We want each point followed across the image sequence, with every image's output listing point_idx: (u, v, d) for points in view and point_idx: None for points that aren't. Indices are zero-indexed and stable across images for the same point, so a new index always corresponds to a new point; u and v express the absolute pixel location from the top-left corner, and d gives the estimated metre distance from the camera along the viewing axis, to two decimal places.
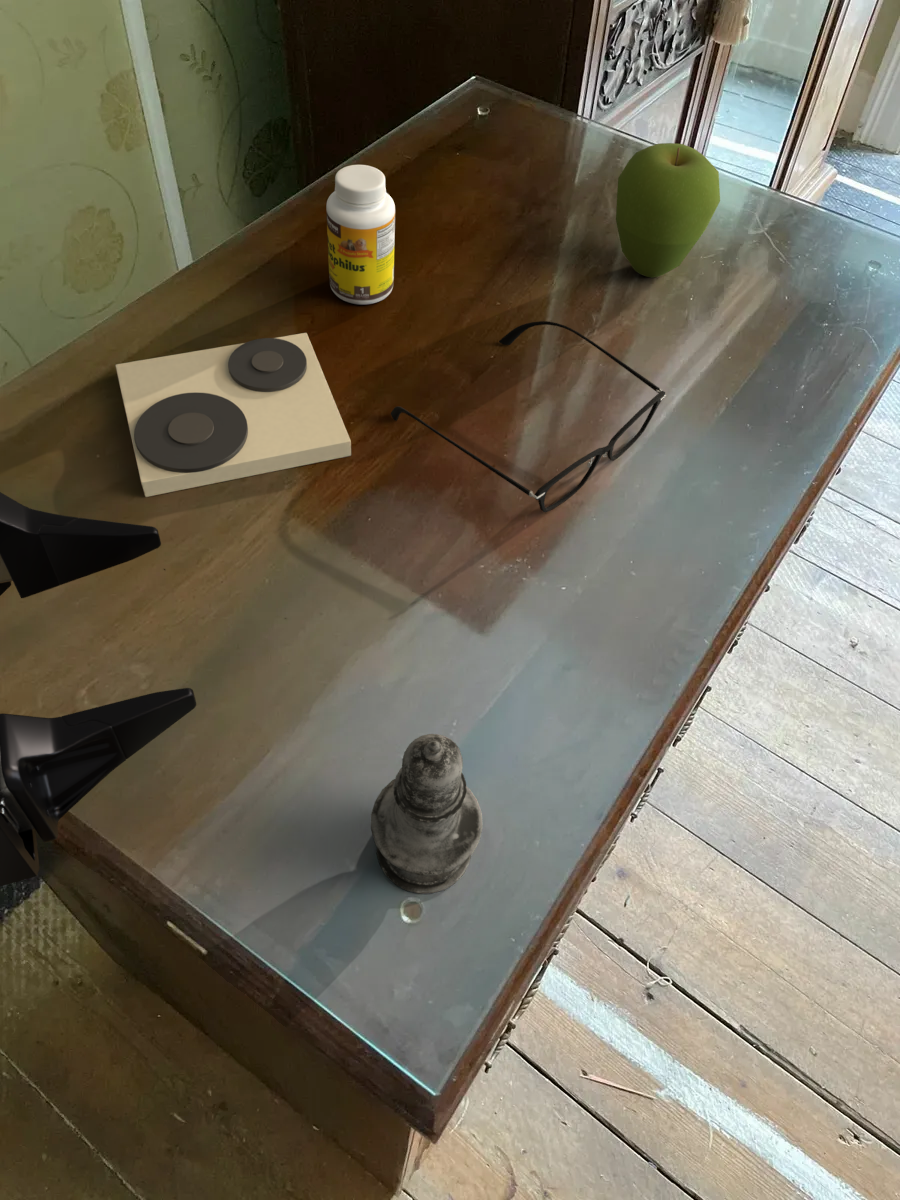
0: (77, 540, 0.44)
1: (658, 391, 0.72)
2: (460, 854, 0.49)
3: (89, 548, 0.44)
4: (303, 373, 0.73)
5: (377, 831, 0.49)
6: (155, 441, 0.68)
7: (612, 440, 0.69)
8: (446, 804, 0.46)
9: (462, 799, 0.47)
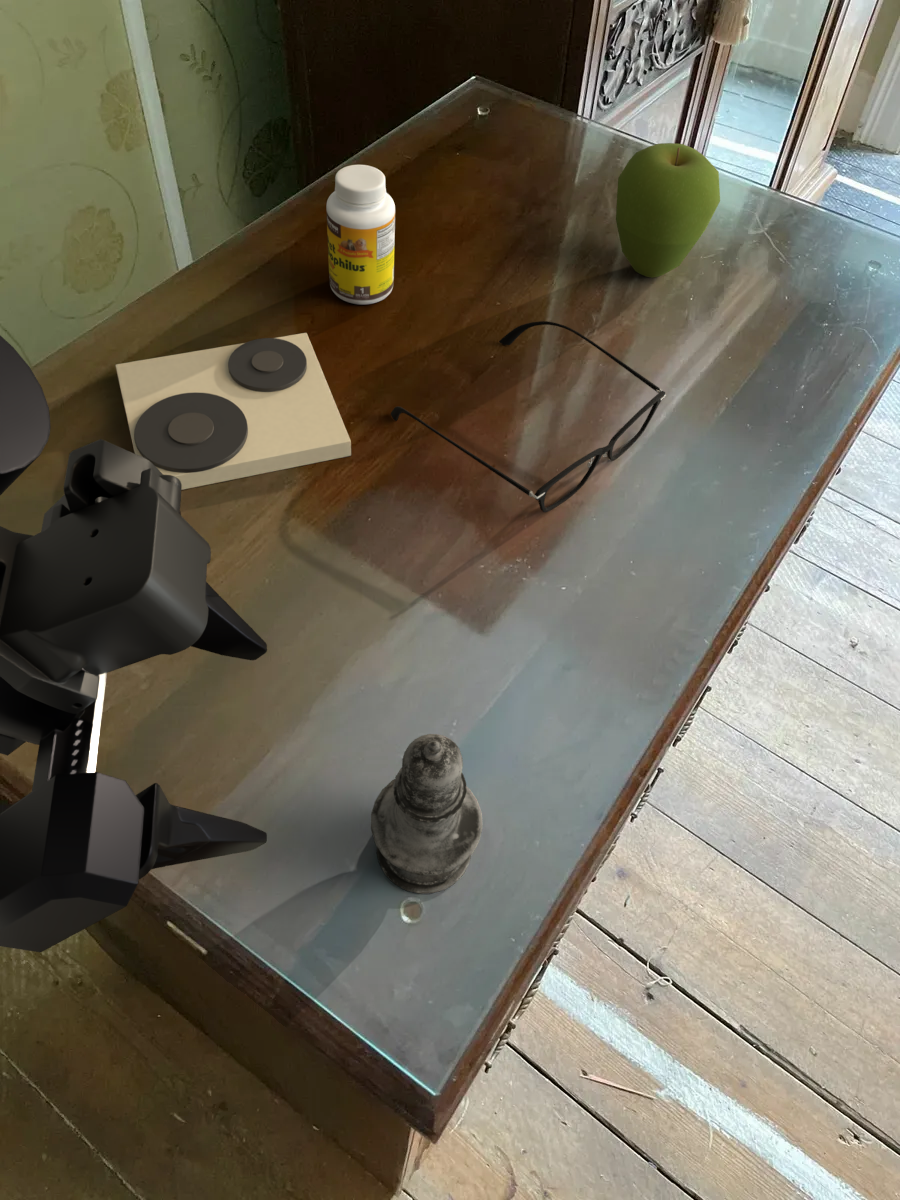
0: (208, 615, 0.41)
1: (658, 391, 0.72)
2: (460, 854, 0.49)
3: (206, 626, 0.42)
4: (303, 373, 0.73)
5: (377, 831, 0.49)
6: (155, 441, 0.68)
7: (612, 440, 0.69)
8: (446, 804, 0.46)
9: (462, 799, 0.47)
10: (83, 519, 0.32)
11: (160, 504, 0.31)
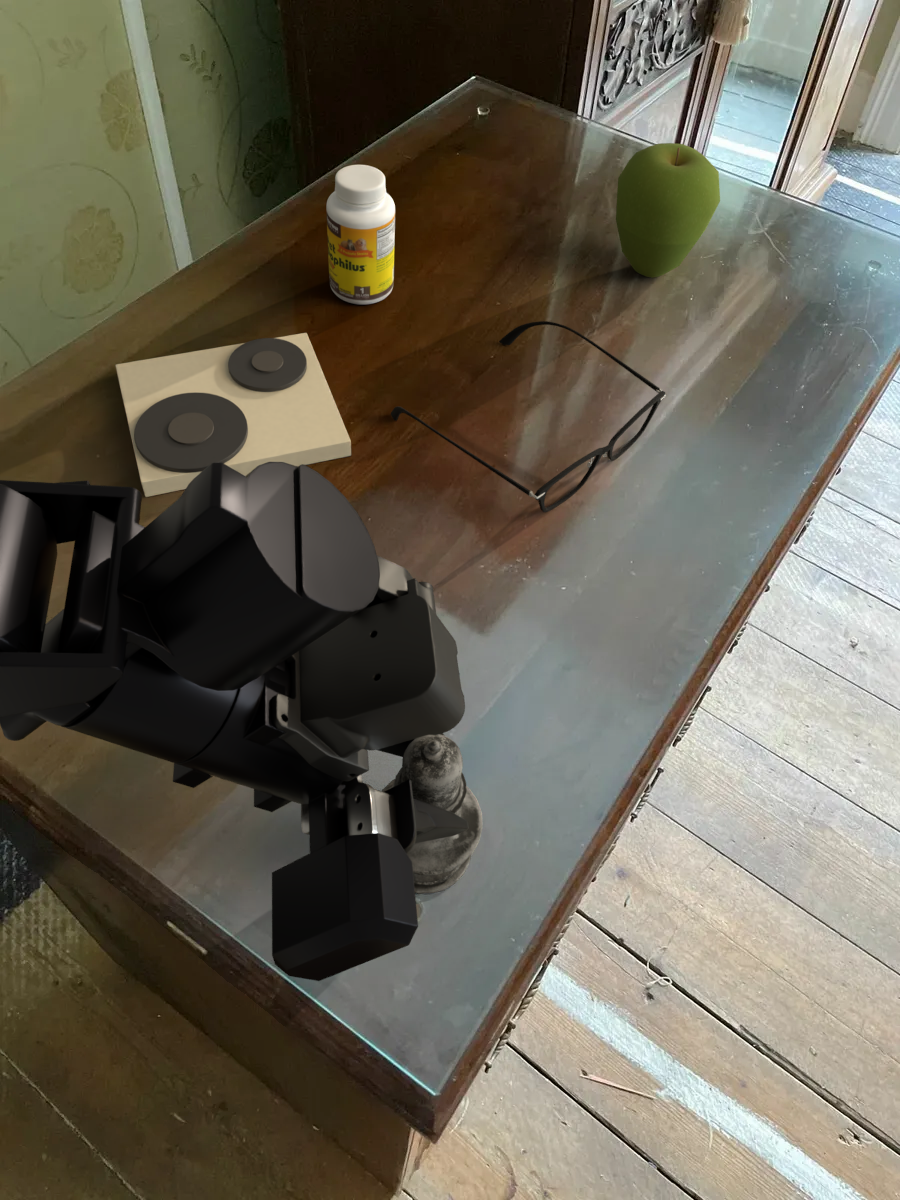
0: None
1: (658, 391, 0.72)
2: (460, 854, 0.49)
3: (412, 739, 0.47)
4: (303, 373, 0.73)
5: None
6: (155, 441, 0.68)
7: (612, 440, 0.69)
8: (446, 804, 0.46)
9: (462, 799, 0.47)
10: (359, 621, 0.38)
11: (430, 611, 0.37)
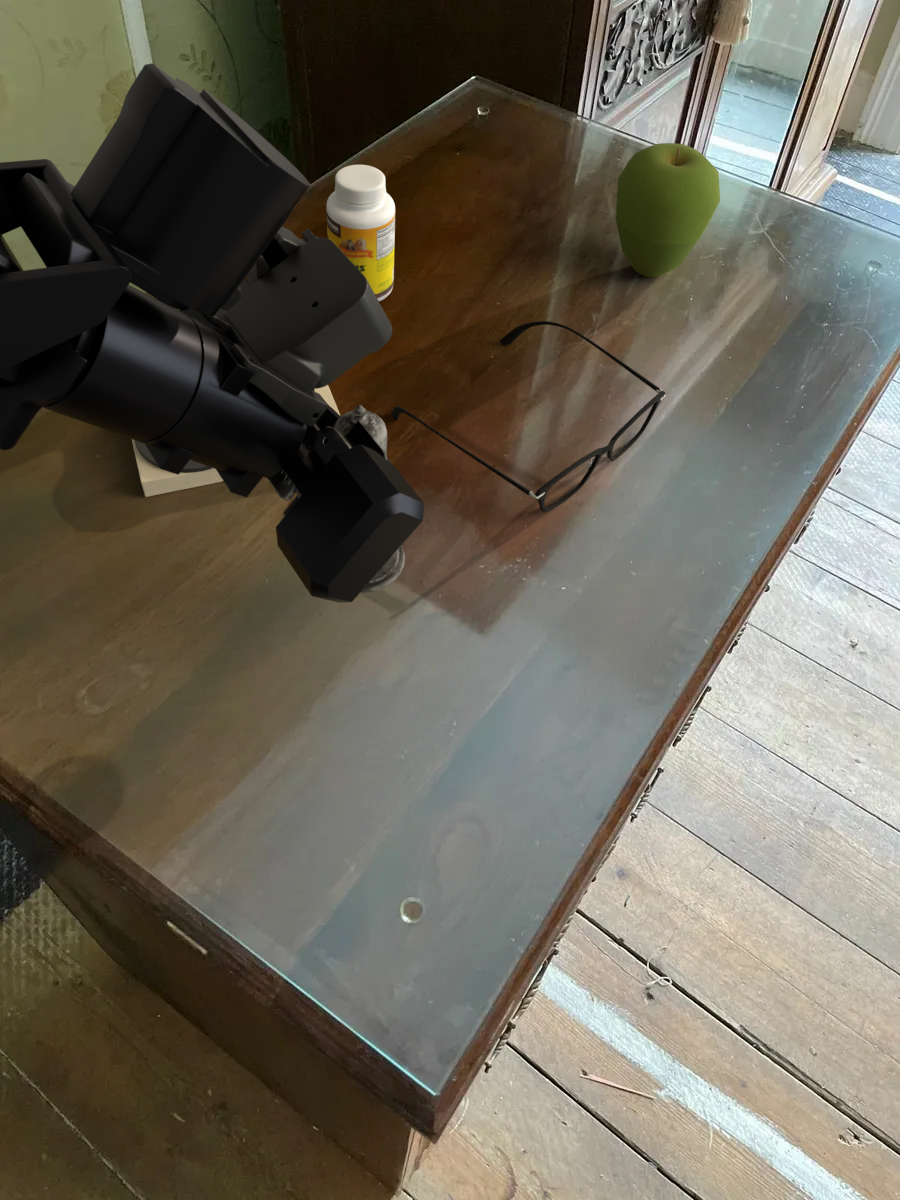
0: (331, 421, 0.51)
1: (658, 391, 0.72)
2: None
3: None
4: None
5: None
6: None
7: (612, 440, 0.69)
8: None
9: None
10: (274, 277, 0.42)
11: (334, 244, 0.42)
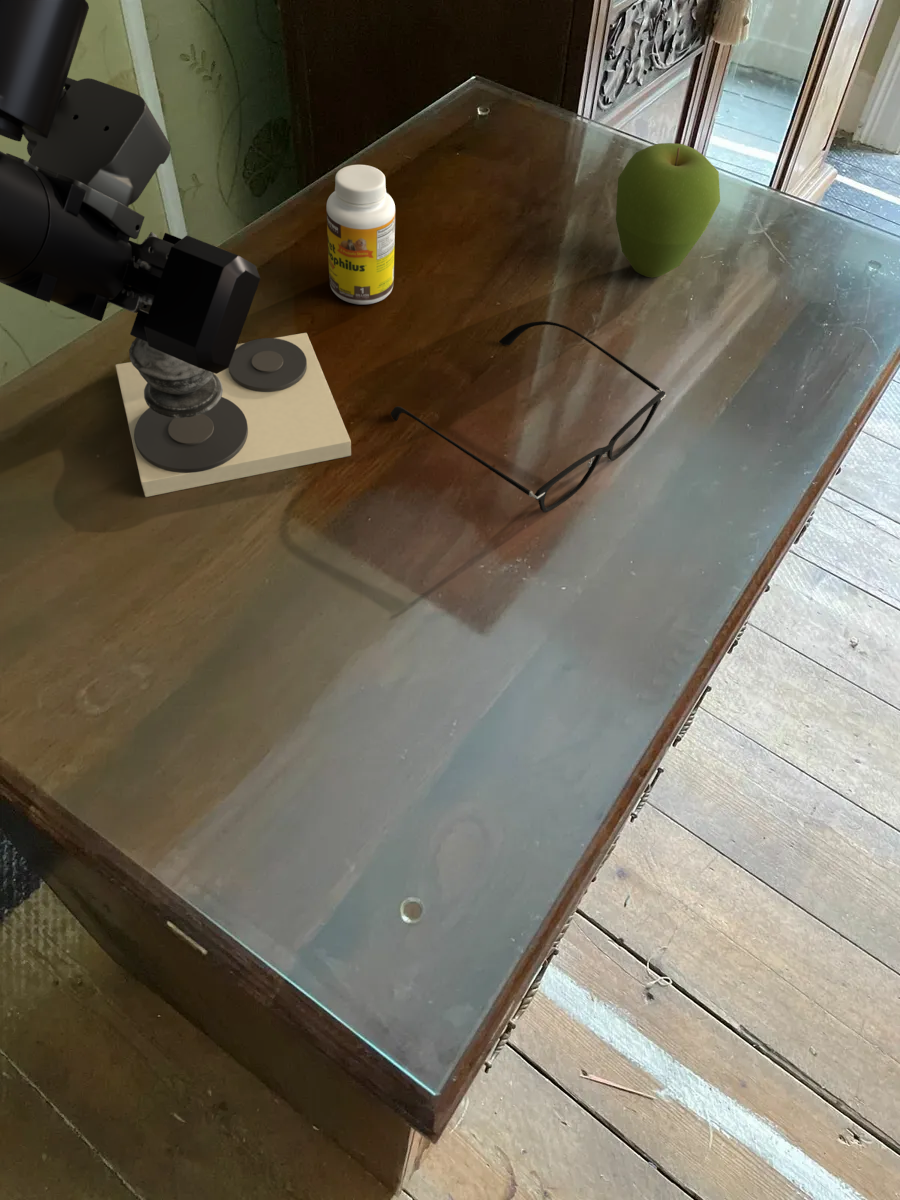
0: None
1: (658, 391, 0.72)
2: None
3: None
4: (303, 373, 0.73)
5: (154, 372, 0.61)
6: (155, 441, 0.68)
7: (612, 440, 0.69)
8: None
9: None
10: (56, 120, 0.49)
11: (96, 81, 0.49)
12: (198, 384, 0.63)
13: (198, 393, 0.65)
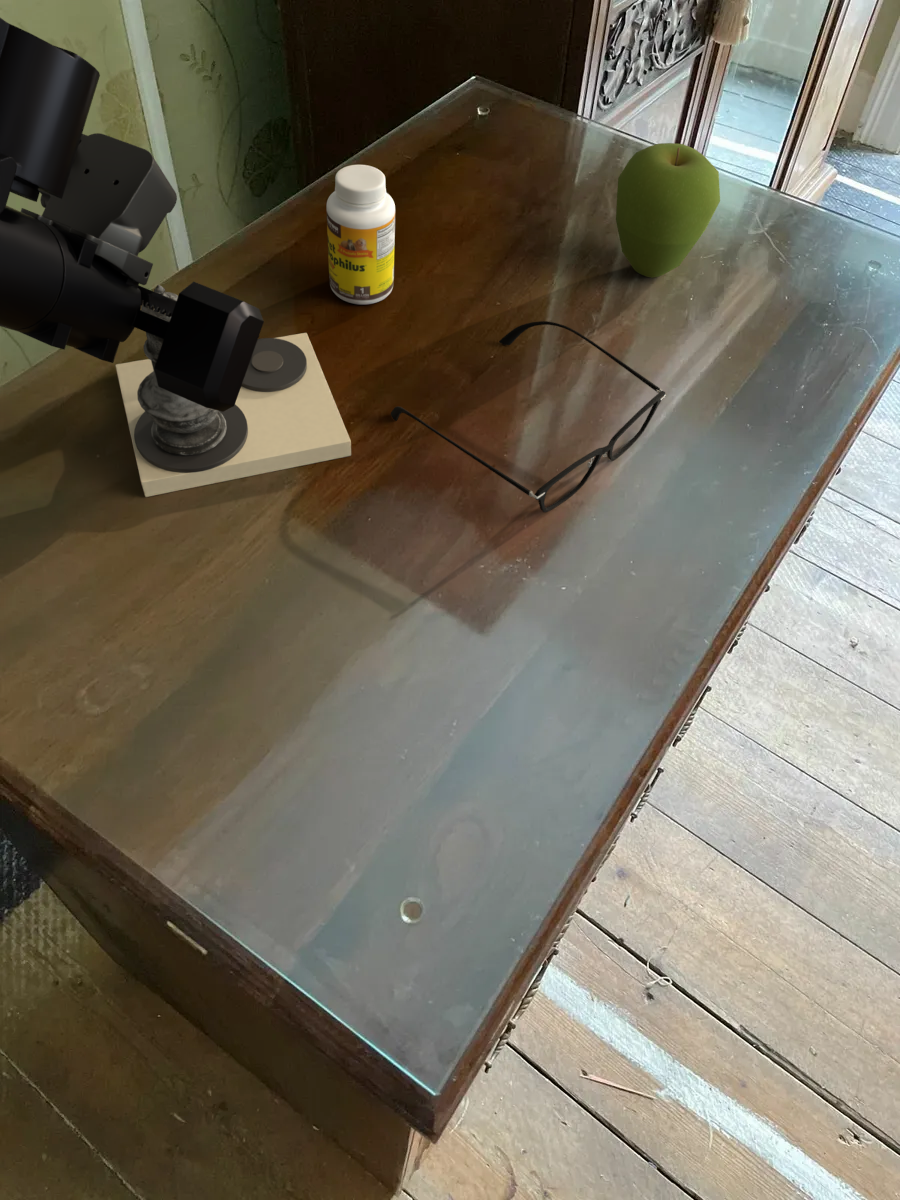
0: None
1: (658, 391, 0.72)
2: None
3: None
4: (303, 373, 0.73)
5: (161, 414, 0.64)
6: None
7: (612, 440, 0.69)
8: None
9: None
10: (68, 174, 0.51)
11: (105, 136, 0.52)
12: (203, 424, 0.66)
13: (204, 430, 0.68)
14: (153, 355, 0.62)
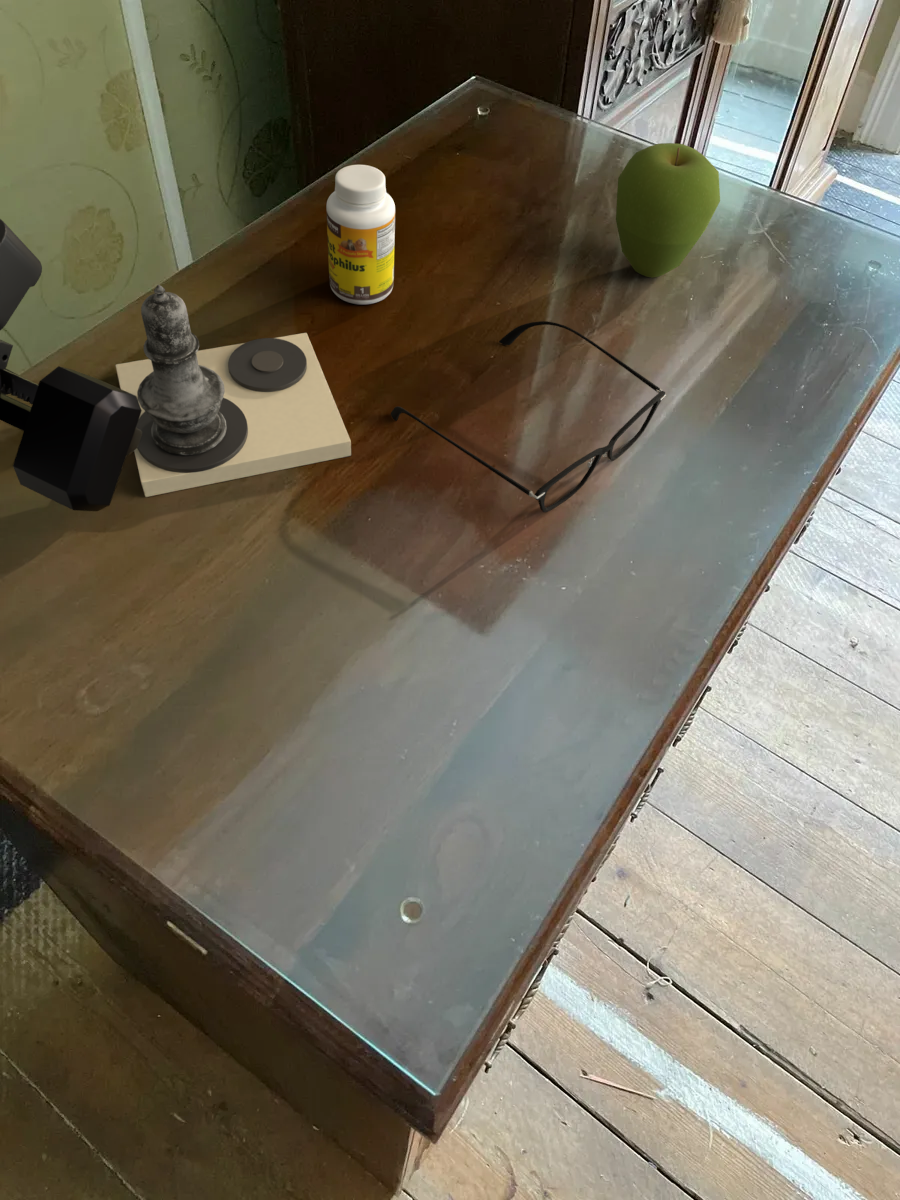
0: None
1: (658, 391, 0.72)
2: (219, 387, 0.66)
3: None
4: (303, 373, 0.73)
5: (161, 414, 0.64)
6: None
7: (612, 440, 0.69)
8: (191, 338, 0.62)
9: (195, 336, 0.63)
10: None
11: None
12: (203, 424, 0.66)
13: (204, 430, 0.68)
14: (153, 355, 0.62)
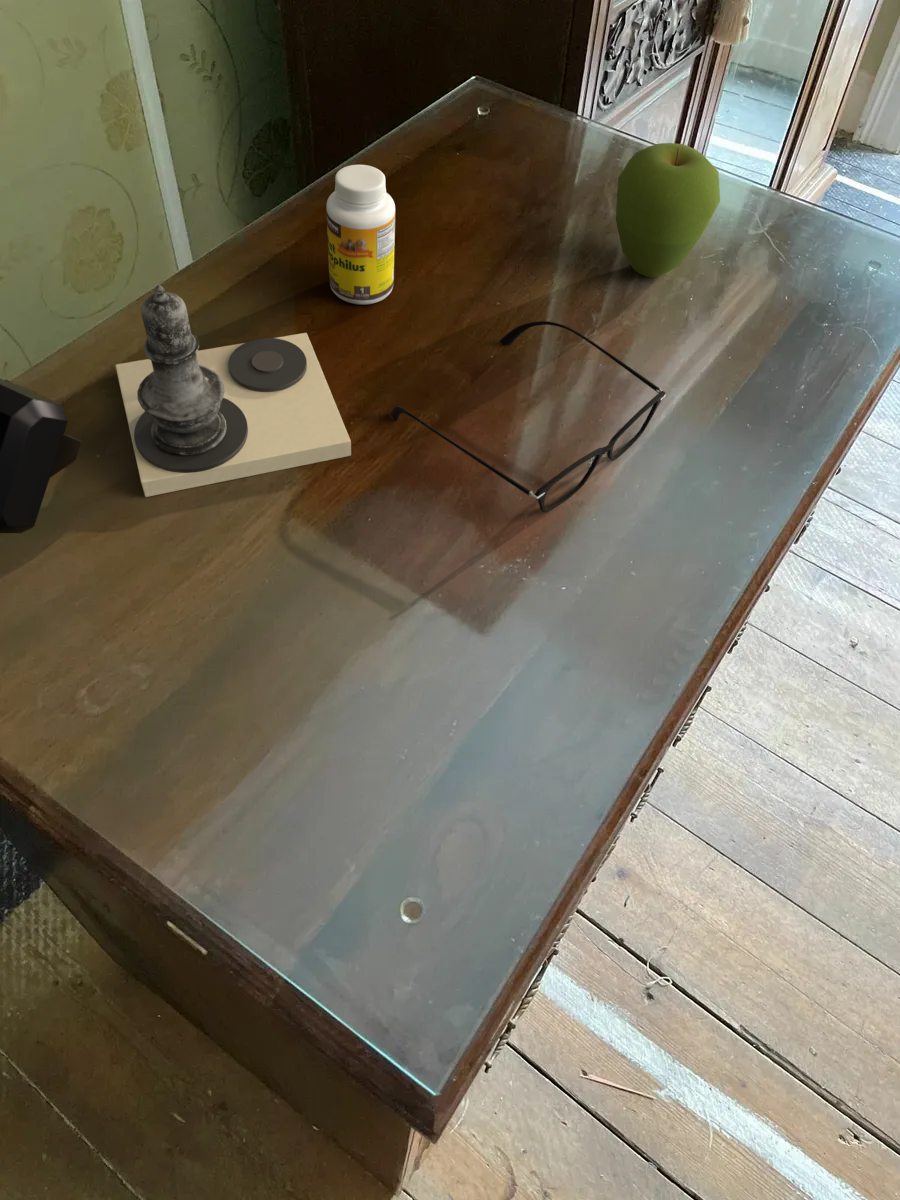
0: None
1: (658, 391, 0.72)
2: (219, 387, 0.66)
3: None
4: (303, 373, 0.73)
5: (161, 414, 0.64)
6: None
7: (612, 440, 0.69)
8: (191, 338, 0.62)
9: (195, 336, 0.63)
10: None
11: None
12: (203, 424, 0.66)
13: (204, 430, 0.68)
14: (153, 355, 0.62)
